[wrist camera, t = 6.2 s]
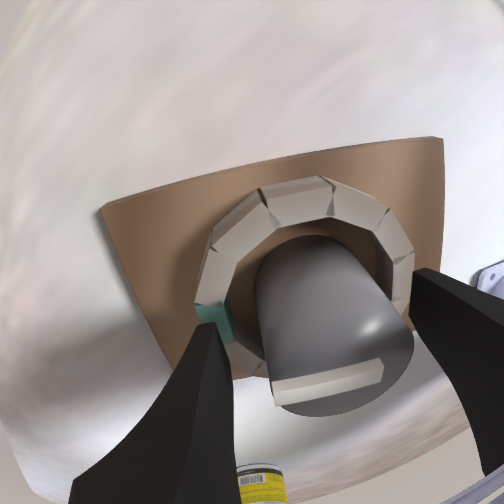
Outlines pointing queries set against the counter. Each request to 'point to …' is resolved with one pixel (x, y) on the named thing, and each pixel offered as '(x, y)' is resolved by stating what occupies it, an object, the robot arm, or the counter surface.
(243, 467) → the supplement bottle
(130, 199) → the hub plate
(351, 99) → the counter surface
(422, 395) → the counter surface
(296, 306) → the knob
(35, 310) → the counter surface
